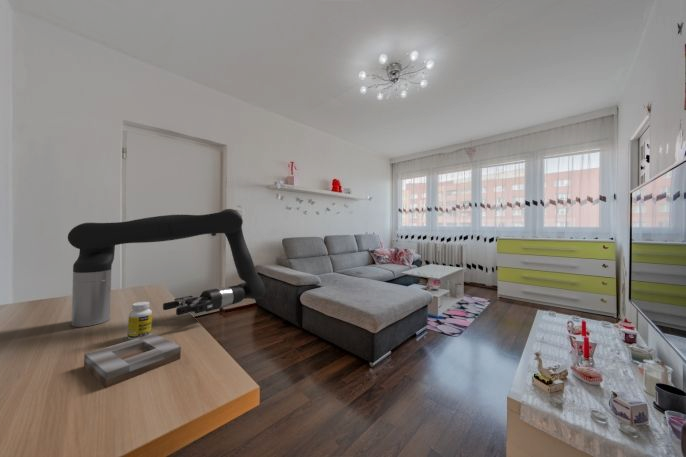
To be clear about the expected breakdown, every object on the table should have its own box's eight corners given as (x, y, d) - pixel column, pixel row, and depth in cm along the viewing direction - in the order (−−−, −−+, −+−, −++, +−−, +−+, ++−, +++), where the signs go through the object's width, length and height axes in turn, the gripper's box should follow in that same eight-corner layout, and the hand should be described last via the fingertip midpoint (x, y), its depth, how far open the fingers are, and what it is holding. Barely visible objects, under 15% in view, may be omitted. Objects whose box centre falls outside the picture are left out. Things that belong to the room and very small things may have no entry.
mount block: (84, 366, 59) (84, 353, 59) (154, 344, 71) (154, 333, 71) (106, 387, 52) (106, 372, 52) (180, 358, 64) (180, 346, 64)
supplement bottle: (138, 341, 72) (139, 306, 72) (122, 339, 73) (123, 305, 73) (155, 333, 78) (156, 301, 78) (141, 332, 79) (142, 300, 79)
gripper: (206, 285, 100) (159, 294, 86) (229, 291, 93) (181, 301, 79) (205, 305, 100) (158, 316, 86) (228, 312, 92) (181, 325, 79)
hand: (169, 309), depth 82 cm, fingers open, 8 cm apart
